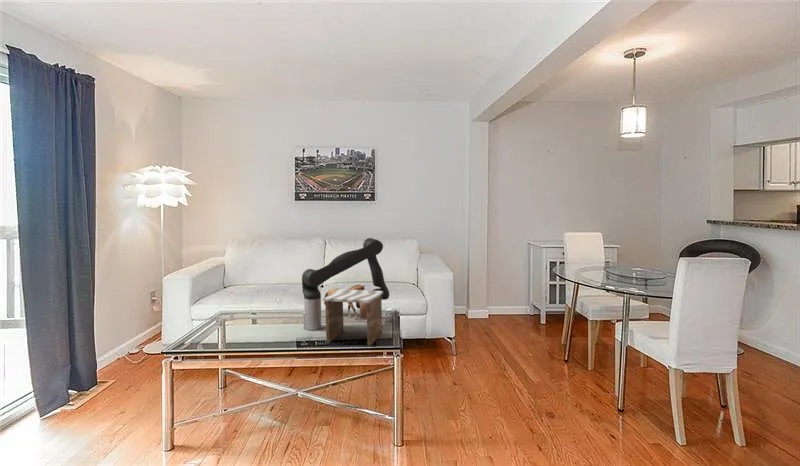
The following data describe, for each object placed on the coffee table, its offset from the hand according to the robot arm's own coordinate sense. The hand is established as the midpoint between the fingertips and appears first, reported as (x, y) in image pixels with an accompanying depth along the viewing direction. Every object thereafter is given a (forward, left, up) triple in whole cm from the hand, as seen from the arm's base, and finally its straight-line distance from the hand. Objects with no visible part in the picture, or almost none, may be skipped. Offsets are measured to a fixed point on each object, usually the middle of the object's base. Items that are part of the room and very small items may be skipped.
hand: (363, 307), depth 264 cm
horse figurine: (-21, +25, -13) cm, 35 cm away
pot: (0, +2, -6) cm, 7 cm away
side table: (0, -15, -13) cm, 20 cm away
